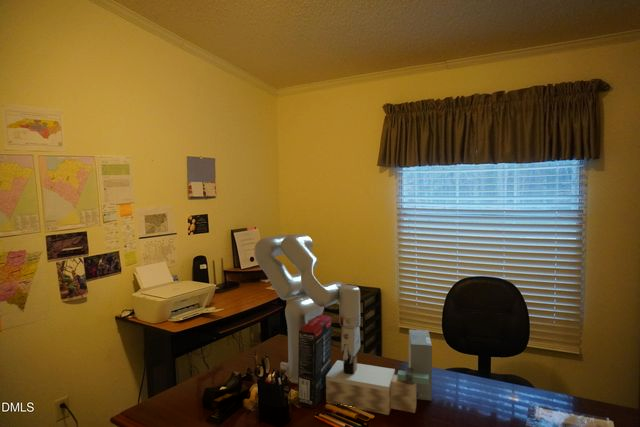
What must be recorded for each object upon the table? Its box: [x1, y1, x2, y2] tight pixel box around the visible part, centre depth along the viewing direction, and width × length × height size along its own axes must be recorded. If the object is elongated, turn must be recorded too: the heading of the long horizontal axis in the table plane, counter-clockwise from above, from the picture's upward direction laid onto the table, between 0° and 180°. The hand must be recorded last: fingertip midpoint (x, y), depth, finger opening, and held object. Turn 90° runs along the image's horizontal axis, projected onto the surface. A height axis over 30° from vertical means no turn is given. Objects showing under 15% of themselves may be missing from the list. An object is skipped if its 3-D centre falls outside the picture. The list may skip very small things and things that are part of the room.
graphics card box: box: [297, 314, 332, 409], centre depth 132 cm, size 17×7×27 cm, turn 159°
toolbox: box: [325, 367, 417, 416], centre depth 128 cm, size 30×13×13 cm, turn 69°
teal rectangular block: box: [396, 369, 429, 385], centre depth 123 cm, size 10×3×2 cm, turn 69°
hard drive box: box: [408, 329, 433, 401], centre depth 135 cm, size 16×8×20 cm, turn 168°
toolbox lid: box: [326, 355, 396, 391], centre depth 129 cm, size 22×13×6 cm, turn 69°
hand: (350, 370), depth 131 cm, fingers closed on toolbox lid, 3 cm apart
